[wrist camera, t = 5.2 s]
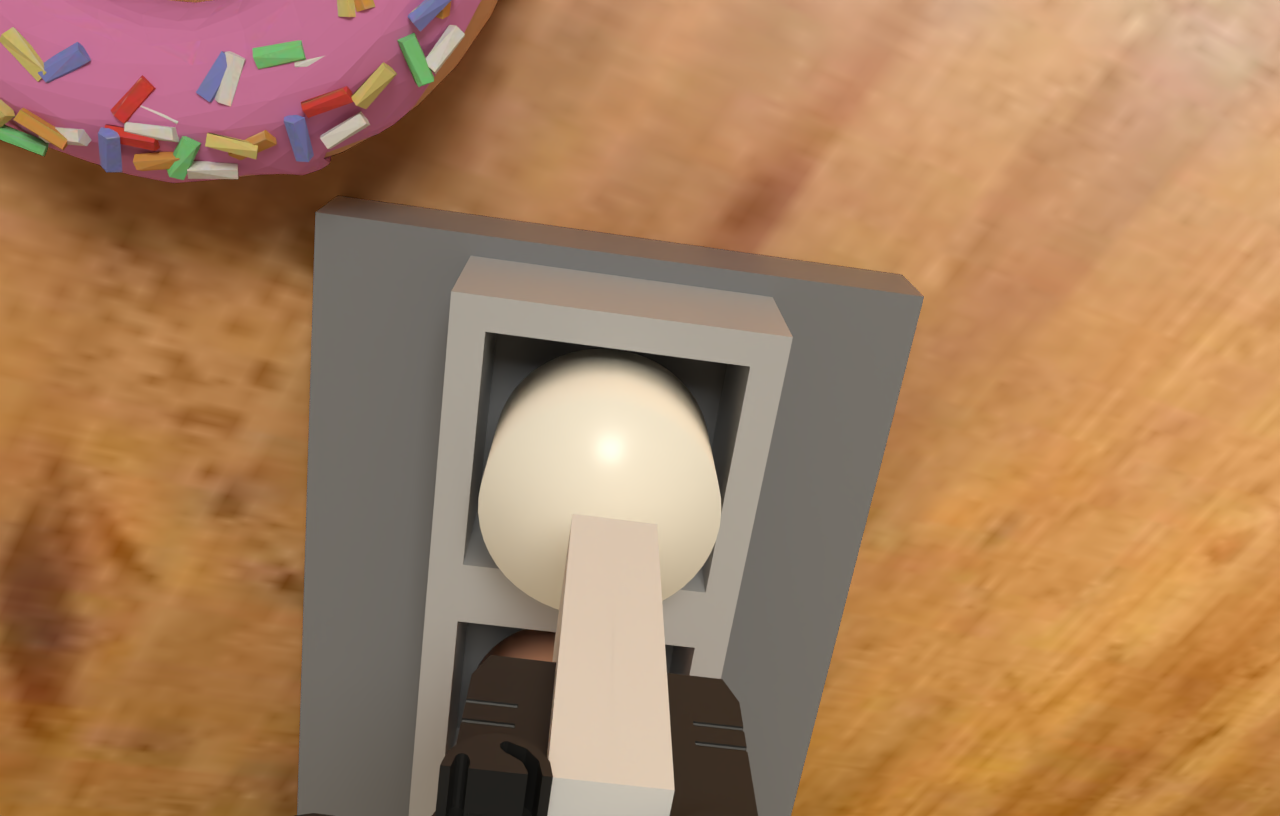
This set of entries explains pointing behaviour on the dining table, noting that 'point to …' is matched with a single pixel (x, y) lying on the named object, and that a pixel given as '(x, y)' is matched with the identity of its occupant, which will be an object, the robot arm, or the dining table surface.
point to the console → (462, 438)
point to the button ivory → (598, 468)
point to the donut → (220, 79)
